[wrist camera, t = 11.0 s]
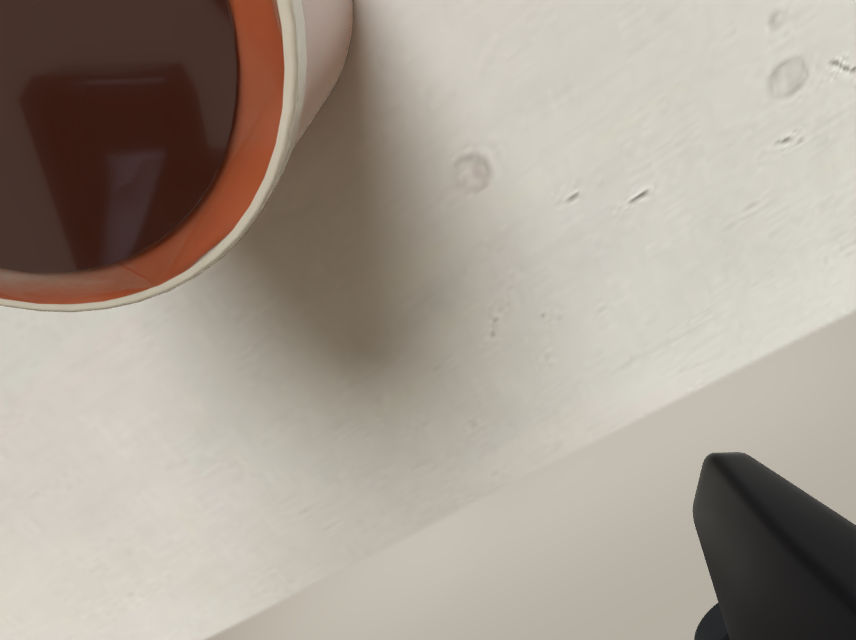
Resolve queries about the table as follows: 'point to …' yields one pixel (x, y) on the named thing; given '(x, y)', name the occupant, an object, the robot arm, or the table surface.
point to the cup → (147, 136)
